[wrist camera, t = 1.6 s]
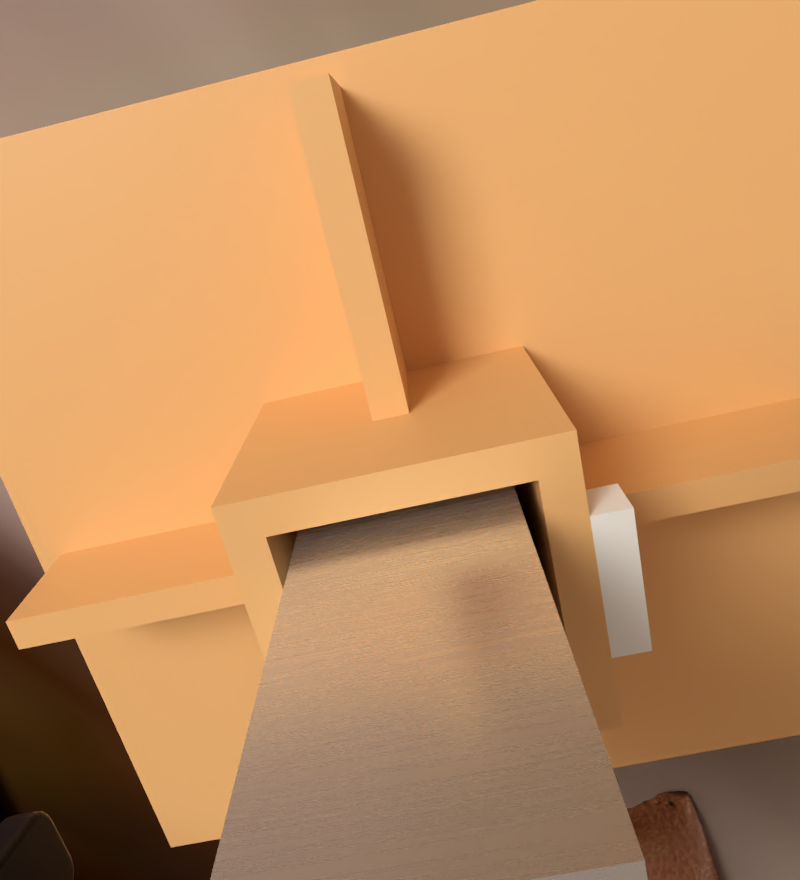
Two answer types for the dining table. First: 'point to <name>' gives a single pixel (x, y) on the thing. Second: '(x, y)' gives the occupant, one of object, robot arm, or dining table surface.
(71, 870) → the robot arm
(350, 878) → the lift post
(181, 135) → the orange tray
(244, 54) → the dining table surface
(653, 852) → the sunglasses case
